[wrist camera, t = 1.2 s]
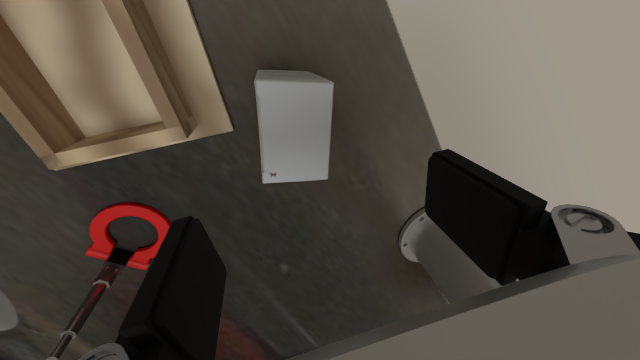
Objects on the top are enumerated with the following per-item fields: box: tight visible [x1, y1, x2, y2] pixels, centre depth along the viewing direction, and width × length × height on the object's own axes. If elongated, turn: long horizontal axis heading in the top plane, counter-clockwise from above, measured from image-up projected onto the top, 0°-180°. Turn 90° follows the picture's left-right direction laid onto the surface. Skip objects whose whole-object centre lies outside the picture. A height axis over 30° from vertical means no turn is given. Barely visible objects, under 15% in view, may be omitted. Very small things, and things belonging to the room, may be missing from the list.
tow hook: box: [46, 202, 171, 360], centre depth 25 cm, size 8×13×9 cm
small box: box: [254, 70, 334, 183], centre depth 22 cm, size 8×6×10 cm
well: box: [0, 0, 234, 171], centre depth 20 cm, size 18×16×5 cm
